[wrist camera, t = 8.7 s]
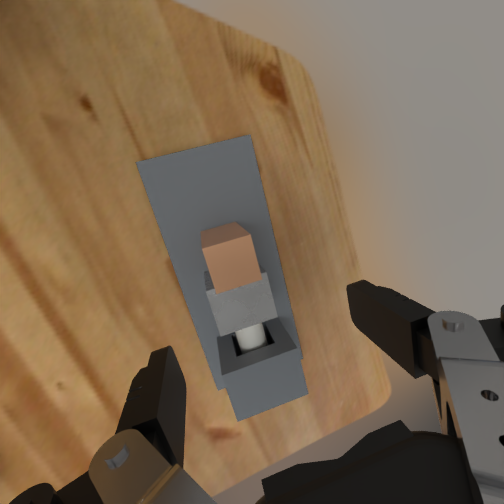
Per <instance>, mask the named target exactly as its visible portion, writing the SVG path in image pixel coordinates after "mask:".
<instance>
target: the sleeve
mask: <svg viewBox="0 0 504 504" xmlns="http://www.w3.org/2000/svg"><path fill="white" fill-rule="evenodd" d="M258 265H259V268H260V272H261V276H262V280H259V281H256V282H253V283H250V284H247V285H244V286H240V287H237V288H234V289H231V290H228V291H225V292H222V293H219V294H216V291H215V288H214V285H213V282H212V279H211V276H210V272H209V271H205V272H204V279H205V290H206V294H207V297H208V300H209V303H210V306H211V309H212V312H213V315H214V318H215V321H216V324H217V327H218V330H219V333H220V336H224V335H227V334H230V333H233V332H236V331H239V330H242V329H244V328H247V327H250V326H253V325H256V324H259V323H262V322H265V321H268V320H271V319H273V318H276V317H278V316H277V312H276V308H275V304H274V300H273V296H272V292H271V288H270V284H269V280H268V276H267V272H266V271H265V270H264V269H263V267H262V266H261V265H260V264H259V263H258Z"/></svg>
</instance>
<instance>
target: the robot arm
mask: <svg viewBox="0 0 504 504" xmlns="http://www.w3.org/2000/svg"><path fill="white" fill-rule="evenodd" d="M347 296H348V302H349V308H350V314H351V318H352V321H353V323H354V324H355V326H356V327H357V328H358V329H359V330H360V331H361V332H362V333H363V334H365V335H366V336H367V337H368V338H369V339H370V340H371V341H373V342H374V343H375V344H376V345H377V346H378V347H379V348H381V349H382V350H383V351H384V352H385V353H387V354H388V355H389V356H390V357H391V358H392V359H393V360H394V361H395V362H397V363H398V364H399V365H400V366H401V367H402V368H404V369H405V370H406V371H407V372H408V373H409V374H410V375H412V376H413V377H414V378H415V379H416V378H419V377H421V376H423V375H426V374H428V375H429V376H431V377H432V387H433V392H434V397H435V401H436V407H437V411H438V416H439V421H440V426H441V431H442V434H441V433H436V432H428V431H410V430H409V429H408V428H407V427H406V426H405V425H404V423H403V422H402V421H401V420H398V421H396V422H394V423H392V424H389V425H387V426H385V427H382V428H380V429H378V430H376V431H373V432H371V433H368V434H367V435H366V436H365V437H364V438H363V439H361V440H360V441H359V442H358V443H357V444H356V445H355V446H353V447H352V448H351V449H350V450H349V451H347V452H346V453H345V454H344V455H343V456H342V457H340V458H338V459H334V460H327V461H318V462H310V463H303V464H297V465H294V466H292V467H290V468H288V469H285V470H283V471H281V472H278V473H276V474H274V475H271V476H269V477H267V478H264V479H262V485H263V489H264V494H265V495H264V496H263V497H262V498H261V499H259V500H258V501H257V502H256V504H504V305H503V306H502V307H501V317H500V318H495V319H487V320H479V321H478V320H476V319H475V318H474V317H472V316H470V315H467V314H465V313H461V312H456V311H440V312H435V311H433V310H431V309H429V308H427V307H425V306H423V305H421V304H419V303H417V302H415V301H414V300H412V299H409V298H408V297H406V296H404V295H401V294H400V293H398V292H396V291H394V290H392V289H390V288H385V287H381V286H375V285H373V284H371V283H370V282H368V281H366V280H361V281H358V282H355V283H352V284H349V285H347ZM185 414H186V383H185V379H184V376H183V373H182V370H181V368H180V366H179V363H178V361H177V358H176V356H175V353H174V351H173V349H172V347H171V346H167V347H164V348H162V349H159V350H156V351H153V352H151V355H150V359H149V362H148V366H147V367H145V368H142V369H140V371H139V372H138V373H137V375H136V376H135V377H134V379H133V380H132V383H131V386H130V389H129V393H128V396H127V399H126V402H125V405H124V408H123V411H122V414H121V417H120V420H119V423H118V426H117V430H116V433H115V435H114V436H112V437H111V438H110V439H108V440H107V441H106V442H105V443H104V444H103V445H102V446H101V447H100V448H99V450H98V451H97V452H96V454H95V455H94V457H93V459H92V461H91V463H90V466H89V470H88V471H87V472H86V473H84V474H83V475H81V476H80V477H78V478H77V479H75V480H74V481H72V482H71V483H69V484H68V485H66V486H65V487H63V488H62V489H60V490H59V491H57V492H56V491H55V490H54V488H53V487H52V485H50V484H48V483H41V484H37V485H35V486H33V487H31V488H29V489H27V490H26V491H24V492H23V493H21V494H20V495H18V496H17V497H16V498H15V499H13V500H12V501H11V502H10V503H9V504H217V503H216V502H215V501H214V500H213V499H212V498H211V497H210V496H209V495H208V494H207V493H206V492H205V491H204V490H203V489H202V488H201V487H200V486H199V485H198V484H197V483H196V482H195V481H194V480H193V479H192V478H191V477H190V476H189V475H188V474H187V472H186V471H185V470H184V469H183V461H184V438H185Z"/></svg>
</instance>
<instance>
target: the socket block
mask: <svg viewBox="0 0 504 504" xmlns="http://www.w3.org/2000/svg"><path fill="white" fill-rule="evenodd" d="M262 325H263V328H264V332H265V336H266V339H267V343H268V346H265V347H263V348H260V349H257V350H254V351H251V352H249V353H246V354H243V355H242V353H241V349H240V346H239V343H238V340H237V337H236V333H235V332H233V333H230V334H227V335H224V336H218V337H217V345H218V352H219V359H220V366H221V374H222V378H223V381H224V384H225V386H226V389H227V392H228V395H229V398H230V401H231V404H232V407H233V409H234V412H235V415H236V418H237V421H241V420H243V419H246V418H249V417H251V416H254V415H256V414H259V413H261V412H264V411H266V410H269V409H271V408H274V407H277V406H279V405H282V404H284V403H287V402H289V401H292V400H294V399H297V398H299V397H302V396H305V395H307V394H308V390H307V386H306V381H305V377H304V373H303V369H302V365H301V360H300V356H299V352H298V348H297V346H296V345H295V343H294V342H293V340H292V339H291V337H290V335H289V334H288V332H287V331H286V329H285V328H284V326H283V324H282V323H281V321H280V320H279V318H278V317H276V318H273V319H271V320H268V321H265V322H262Z"/></svg>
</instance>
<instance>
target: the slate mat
mask: <svg viewBox="0 0 504 504" xmlns="http://www.w3.org/2000/svg"><path fill="white" fill-rule="evenodd" d="M136 164H137V167H138V170H139V173H140V176H141V178H142V181H143V184H144V187H145V189H146V192H147V195H148V198H149V201H150V203H151V206H152V209H153V212H154V214H155V217H156V220H157V223H158V226H159V228H160V231H161V234H162V237H163V239H164V242H165V245H166V248H167V250H168V253H169V256H170V259H171V262H172V264H173V267H174V270H175V273H176V275H177V278H178V281H179V284H180V287H181V289H182V292H183V295H184V298H185V300H186V303H187V306H188V309H189V312H190V314H191V317H192V320H193V323H194V325H195V328H196V331H197V334H198V337H199V339H200V342H201V345H202V348H203V350H204V353H205V356H206V359H207V362H208V364H209V367H210V370H211V373H212V375H213V378H214V381H215V384H216V387H217V389H218V390H221V389H224V388H226V386H225V384H224V381H223V378H222V374H221V366H220V359H219V352H218V345H217V337H218V336H220V333H219V330H218V327H217V324H216V321H215V318H214V315H213V312H212V309H211V306H210V303H209V300H208V297H207V294H206V290H205V279H204V272H205V271H209V269H208V266H207V263H206V260H205V257H204V254H203V251H202V244H201V234H200V232H201V231H204V230H208V229H211V228H215V227H218V226H222V225H225V224H229V223H232V222H236V223H238V224H239V225H240V226H241V227H242V228H244V229H245V230H246V231H247V232H248V233H250V234H251V238H252V242H253V245H254V249H255V253H256V257H257V261H258V263H259V264H260V265H261V266H262V267H263V269H264V270H265V271H266V272H267V276H268V280H269V284H270V288H271V292H272V296H273V300H274V304H275V308H276V312H277V316H278V318H279V320H280V321H281V323H282V324H283V326H284V328H285V329H286V331H287V332H288V334H289V335H290V337H291V339H292V340H293V342H294V343H295V345H296V346H297V348H298V352H299V356H300V360H301V359H303V356H302V352H301V348H300V344H299V339H298V335H297V331H296V327H295V322H294V318H293V314H292V310H291V305H290V301H289V297H288V293H287V288H286V284H285V280H284V276H283V271H282V267H281V263H280V259H279V254H278V250H277V246H276V242H275V237H274V233H273V229H272V225H271V220H270V216H269V212H268V208H267V203H266V199H265V195H264V191H263V186H262V182H261V178H260V174H259V169H258V165H257V161H256V157H255V152H254V148H253V144H252V140H251V135H246V136H242V137H237V138H233V139H229V140H225V141H221V142H217V143H213V144H209V145H205V146H201V147H196V148H192V149H188V150H184V151H180V152H176V153H172V154H168V155H164V156H160V157H155V158H151V159H147V160H143V161H139V162H136Z"/></svg>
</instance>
